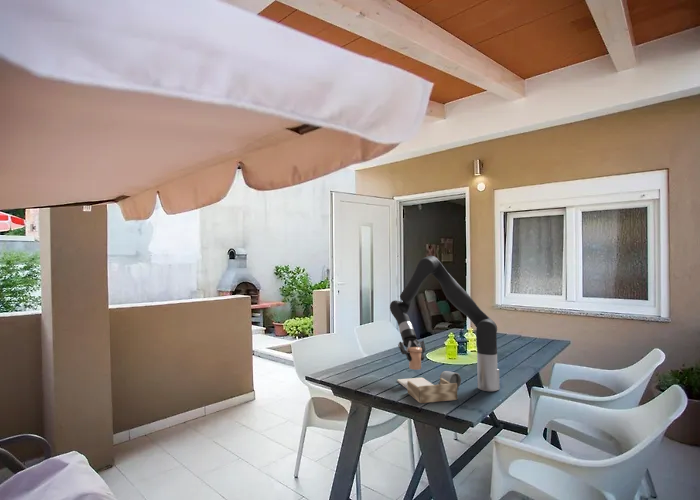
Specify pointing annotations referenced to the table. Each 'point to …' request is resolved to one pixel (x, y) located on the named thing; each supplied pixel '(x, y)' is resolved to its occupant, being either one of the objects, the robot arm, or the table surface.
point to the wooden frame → (433, 392)
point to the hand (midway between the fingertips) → (416, 360)
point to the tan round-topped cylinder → (415, 357)
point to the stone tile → (414, 382)
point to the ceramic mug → (451, 377)
